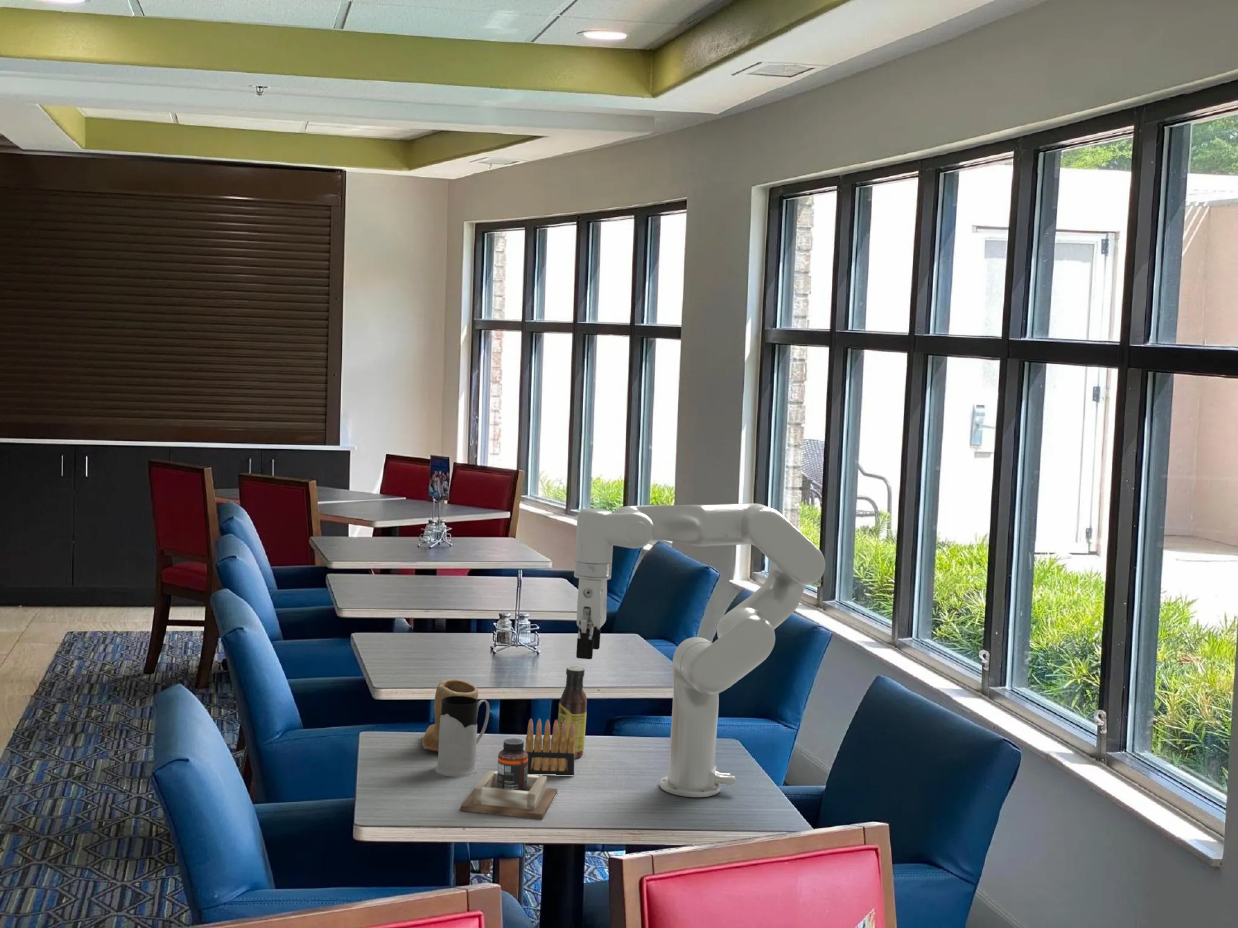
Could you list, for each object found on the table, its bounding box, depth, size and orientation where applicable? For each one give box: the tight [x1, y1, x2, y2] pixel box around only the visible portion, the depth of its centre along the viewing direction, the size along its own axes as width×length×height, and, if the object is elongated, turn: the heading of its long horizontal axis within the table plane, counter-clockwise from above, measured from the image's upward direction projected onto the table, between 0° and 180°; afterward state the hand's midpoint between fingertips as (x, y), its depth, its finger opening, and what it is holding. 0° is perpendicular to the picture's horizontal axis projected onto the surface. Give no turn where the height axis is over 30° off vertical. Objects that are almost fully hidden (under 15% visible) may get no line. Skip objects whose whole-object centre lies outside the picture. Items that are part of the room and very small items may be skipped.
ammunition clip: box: [524, 718, 575, 776], centre depth 283 cm, size 11×2×12 cm, turn 94°
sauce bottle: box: [557, 665, 588, 759], centre depth 297 cm, size 7×6×20 cm
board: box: [460, 770, 558, 820], centre depth 264 cm, size 16×16×4 cm
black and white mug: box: [435, 696, 491, 778], centre depth 284 cm, size 9×14×15 cm, turn 146°
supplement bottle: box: [496, 737, 528, 791], centre depth 263 cm, size 6×6×11 cm
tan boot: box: [421, 678, 479, 752], centre depth 299 cm, size 15×12×15 cm
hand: (588, 653), depth 272 cm, fingers open, 9 cm apart
